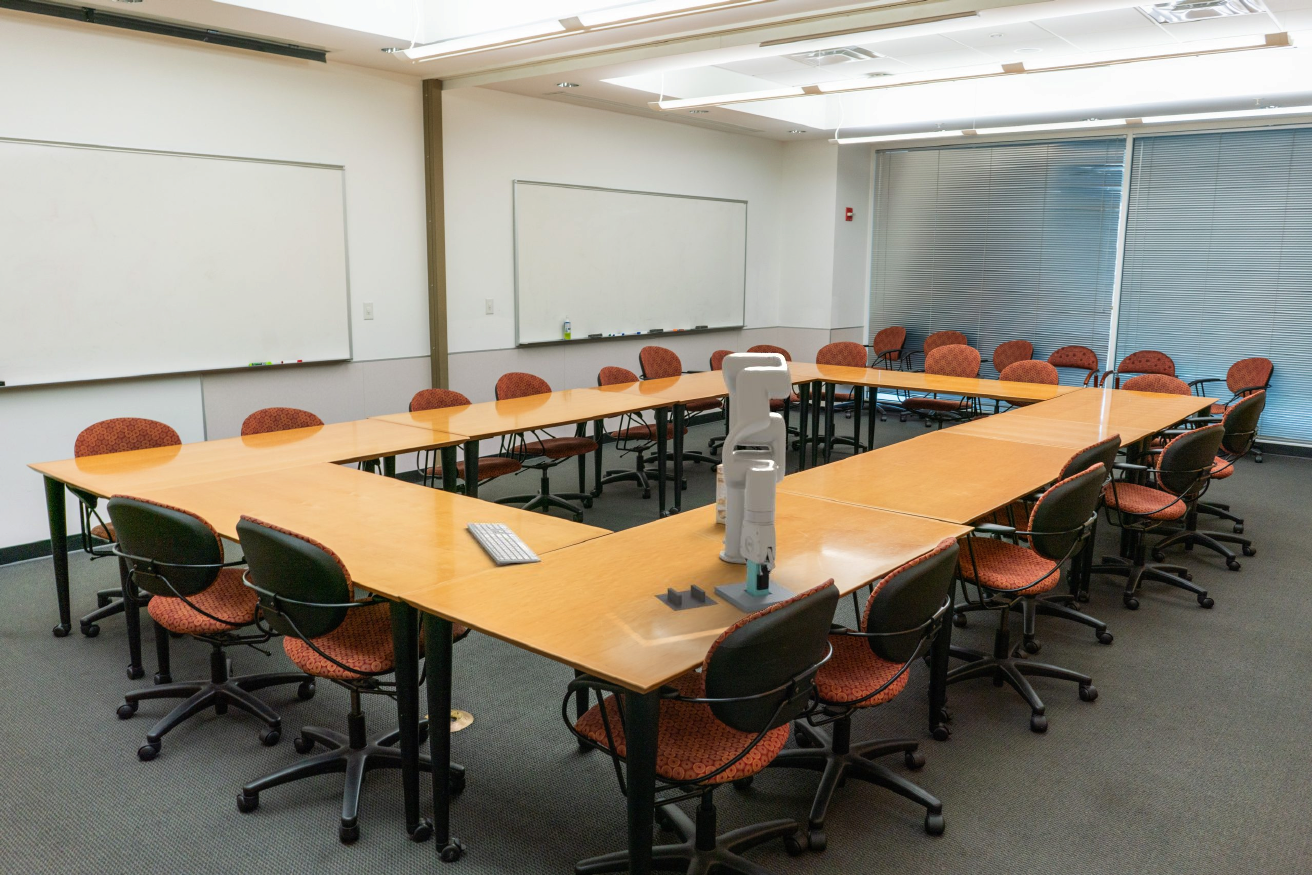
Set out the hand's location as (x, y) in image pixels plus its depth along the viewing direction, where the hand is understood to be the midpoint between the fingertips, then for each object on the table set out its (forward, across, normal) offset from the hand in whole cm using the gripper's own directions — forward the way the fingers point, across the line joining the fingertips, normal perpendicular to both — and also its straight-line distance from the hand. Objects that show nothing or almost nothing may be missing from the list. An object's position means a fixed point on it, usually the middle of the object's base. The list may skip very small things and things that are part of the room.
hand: (757, 585), depth 231 cm
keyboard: (+5, -76, -45) cm, 88 cm away
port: (+4, 0, 0) cm, 4 cm away
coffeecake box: (+4, -73, +35) cm, 81 cm away
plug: (+3, 0, 0) cm, 3 cm away
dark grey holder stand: (+4, -6, -17) cm, 18 cm away
